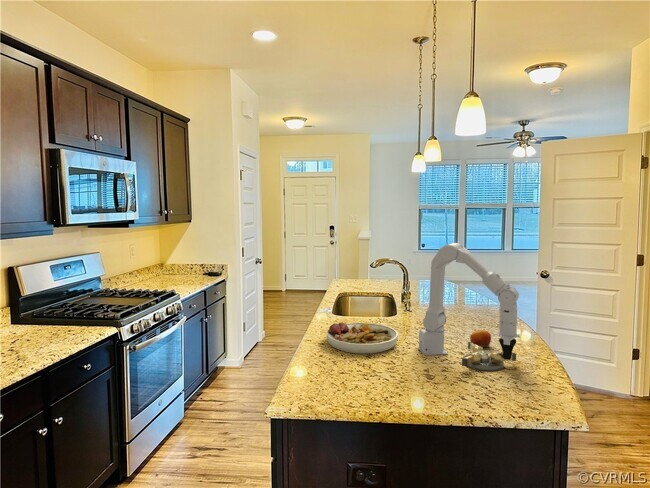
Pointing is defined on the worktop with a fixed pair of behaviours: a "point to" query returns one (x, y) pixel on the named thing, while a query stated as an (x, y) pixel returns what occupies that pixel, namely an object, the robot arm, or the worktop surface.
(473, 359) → the knob left
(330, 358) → the worktop surface
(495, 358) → the knob right
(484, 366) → the level plate
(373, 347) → the bowl
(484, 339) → the fruit
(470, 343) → the knob back
